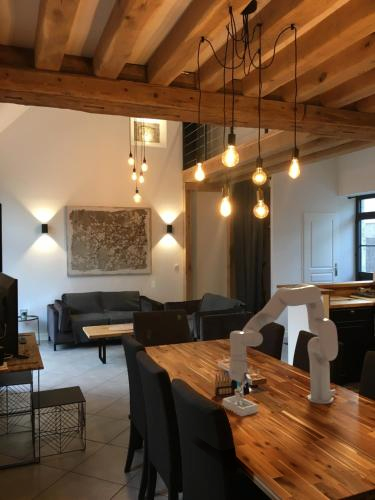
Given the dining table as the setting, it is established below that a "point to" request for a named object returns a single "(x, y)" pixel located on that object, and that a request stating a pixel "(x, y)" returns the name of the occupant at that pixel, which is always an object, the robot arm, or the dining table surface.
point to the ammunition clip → (223, 386)
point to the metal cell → (239, 398)
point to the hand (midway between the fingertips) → (240, 391)
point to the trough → (231, 405)
